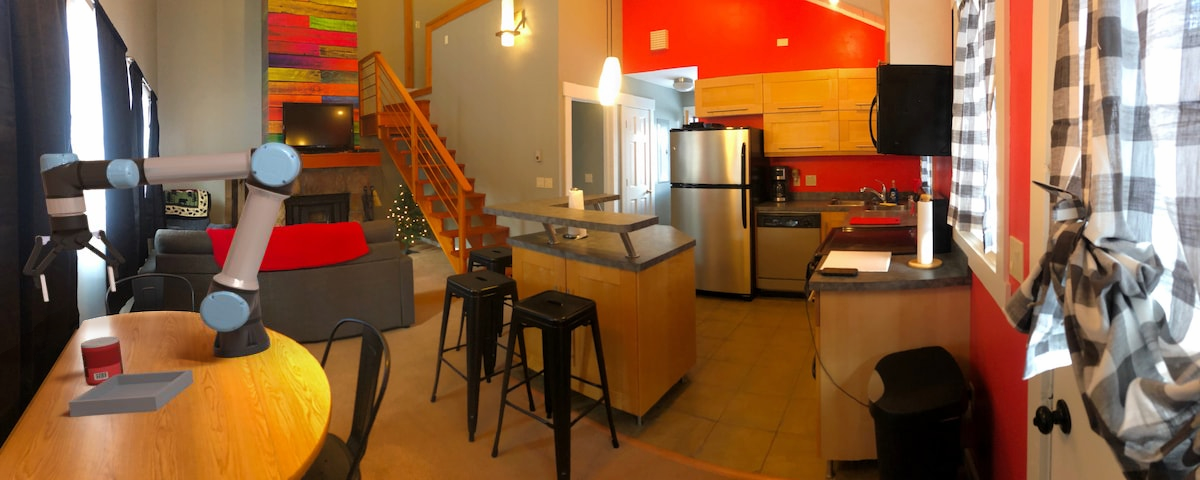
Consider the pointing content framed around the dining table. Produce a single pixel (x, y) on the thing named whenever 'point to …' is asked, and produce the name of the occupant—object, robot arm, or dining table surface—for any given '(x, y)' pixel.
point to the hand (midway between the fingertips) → (80, 295)
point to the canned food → (101, 359)
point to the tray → (131, 393)
